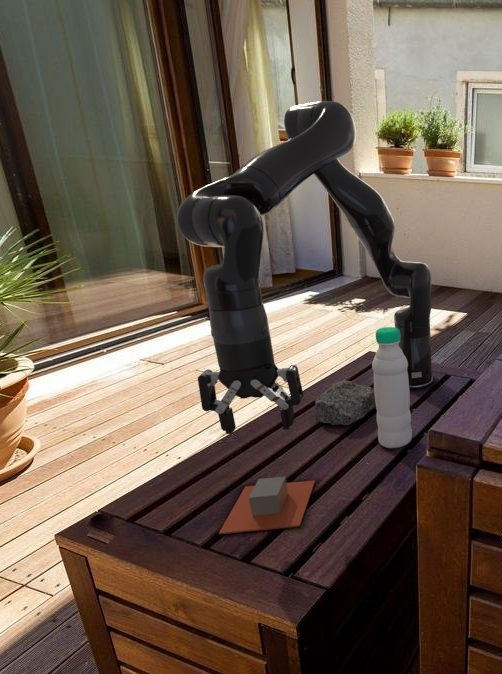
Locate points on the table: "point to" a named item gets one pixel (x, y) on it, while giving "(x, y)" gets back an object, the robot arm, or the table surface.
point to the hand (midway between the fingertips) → (259, 429)
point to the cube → (268, 496)
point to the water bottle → (391, 390)
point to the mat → (287, 518)
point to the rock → (344, 403)
